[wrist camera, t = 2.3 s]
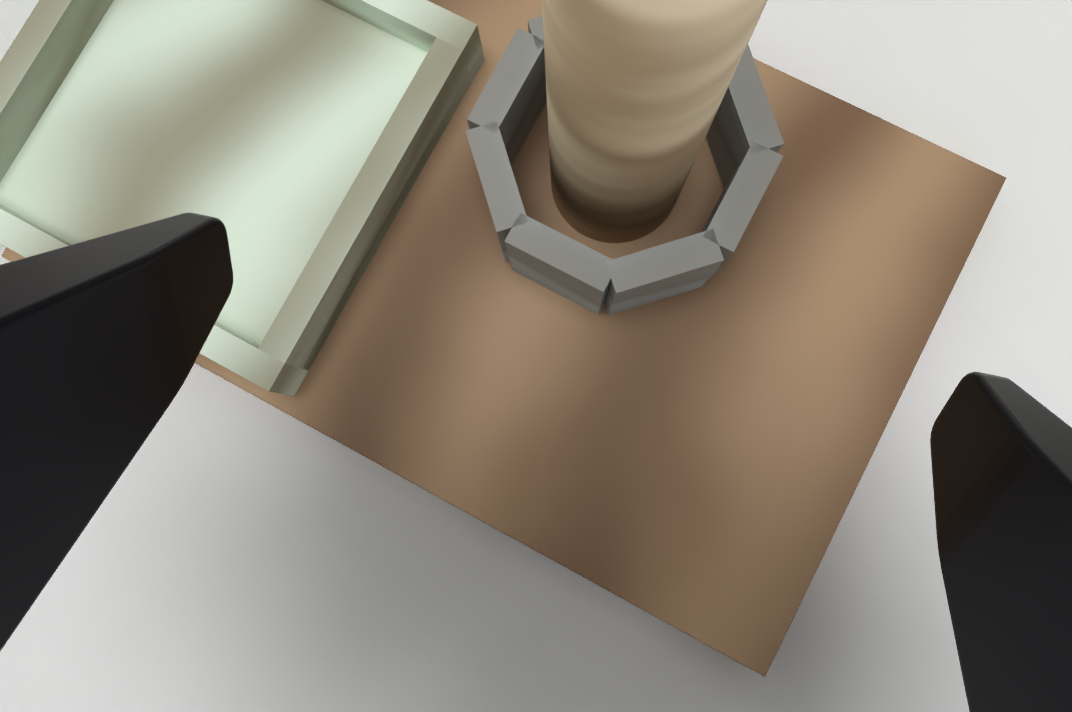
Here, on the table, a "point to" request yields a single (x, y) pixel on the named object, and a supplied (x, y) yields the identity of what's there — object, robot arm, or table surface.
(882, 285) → the stand
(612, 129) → the dowel
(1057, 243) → the table surface
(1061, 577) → the robot arm
